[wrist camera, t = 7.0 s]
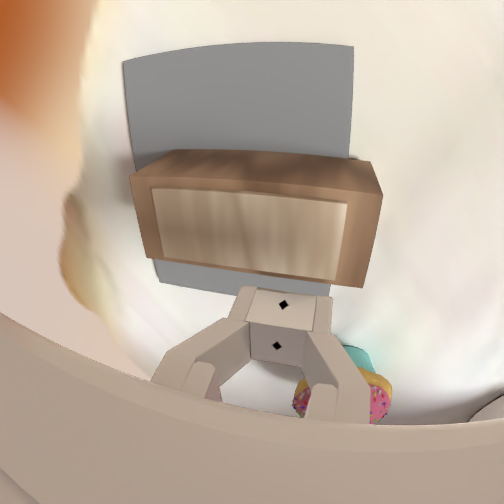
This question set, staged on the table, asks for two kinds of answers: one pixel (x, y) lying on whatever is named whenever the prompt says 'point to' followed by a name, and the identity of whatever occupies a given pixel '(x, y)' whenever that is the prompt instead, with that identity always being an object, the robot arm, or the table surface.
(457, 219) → the table surface
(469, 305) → the table surface
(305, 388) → the cupcake
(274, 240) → the walnut block
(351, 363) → the robot arm
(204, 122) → the mat
